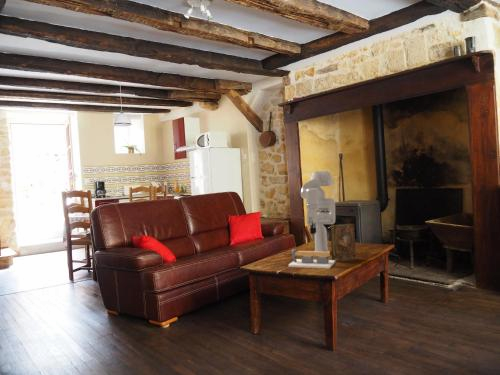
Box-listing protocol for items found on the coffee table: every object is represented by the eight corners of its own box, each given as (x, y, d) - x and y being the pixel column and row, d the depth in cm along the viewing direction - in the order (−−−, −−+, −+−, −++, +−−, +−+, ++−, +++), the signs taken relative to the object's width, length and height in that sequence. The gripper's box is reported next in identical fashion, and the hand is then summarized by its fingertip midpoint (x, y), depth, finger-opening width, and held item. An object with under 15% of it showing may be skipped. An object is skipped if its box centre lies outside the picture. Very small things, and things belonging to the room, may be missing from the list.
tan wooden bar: (293, 255, 289) (292, 249, 289) (330, 256, 279) (330, 250, 279) (291, 256, 286) (291, 250, 286) (329, 257, 275) (328, 251, 275)
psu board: (296, 261, 296) (295, 253, 296) (335, 262, 285) (334, 254, 285) (288, 266, 279) (288, 258, 279) (329, 268, 268) (329, 259, 268)
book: (353, 258, 295) (351, 223, 294) (357, 259, 289) (355, 224, 288) (331, 260, 291) (330, 225, 291) (335, 262, 286) (333, 226, 285)
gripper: (309, 205, 293) (311, 231, 294) (303, 208, 278) (305, 235, 279) (320, 205, 290) (321, 231, 291) (314, 207, 275) (315, 235, 276)
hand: (313, 233), depth 285 cm, fingers closed
